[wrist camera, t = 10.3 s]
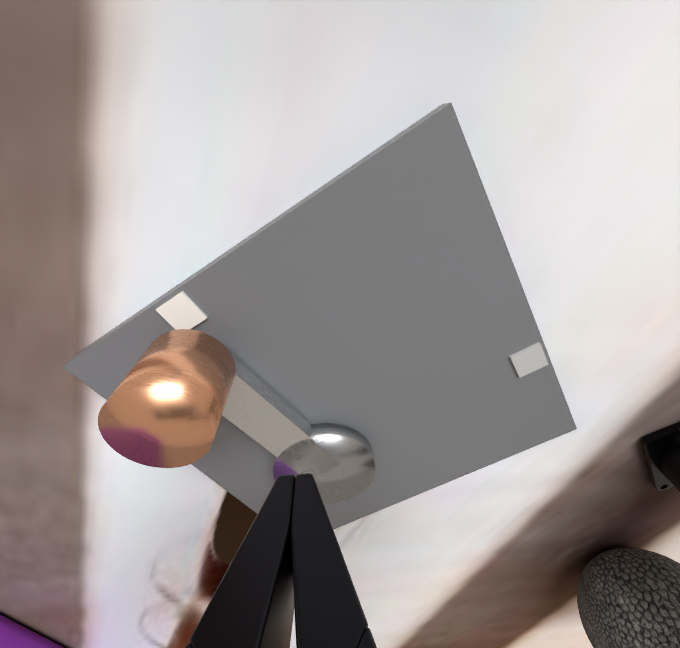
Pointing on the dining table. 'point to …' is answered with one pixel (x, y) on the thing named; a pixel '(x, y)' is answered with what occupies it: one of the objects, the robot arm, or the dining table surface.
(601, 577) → the decorative ball
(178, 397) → the crank
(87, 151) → the dining table surface
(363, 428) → the mount plate
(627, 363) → the dining table surface
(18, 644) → the shopping bag
